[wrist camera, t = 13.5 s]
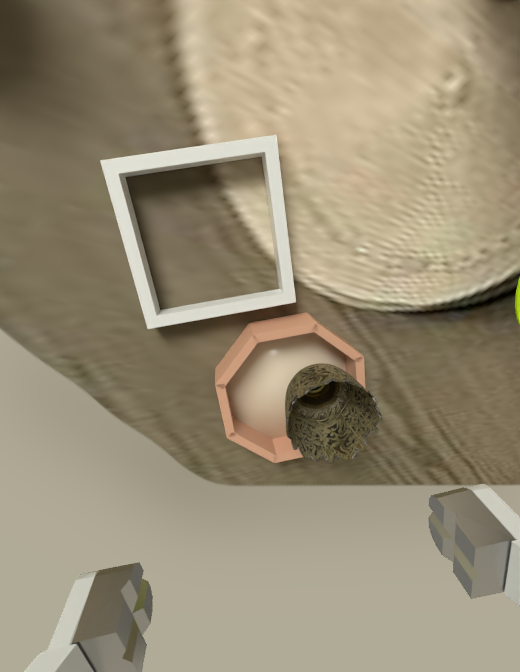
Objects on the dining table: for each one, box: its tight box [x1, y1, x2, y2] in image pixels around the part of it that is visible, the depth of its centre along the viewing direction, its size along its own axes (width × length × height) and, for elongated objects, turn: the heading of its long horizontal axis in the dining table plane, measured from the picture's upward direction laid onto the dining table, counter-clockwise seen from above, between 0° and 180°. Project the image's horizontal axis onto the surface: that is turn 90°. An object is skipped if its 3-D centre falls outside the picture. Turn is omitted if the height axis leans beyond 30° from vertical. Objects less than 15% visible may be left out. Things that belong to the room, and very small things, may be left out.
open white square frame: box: [100, 135, 296, 329], centre depth 27 cm, size 13×13×2 cm
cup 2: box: [285, 363, 382, 464], centre depth 29 cm, size 8×7×8 cm
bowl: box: [215, 312, 365, 463], centre depth 32 cm, size 14×14×4 cm
